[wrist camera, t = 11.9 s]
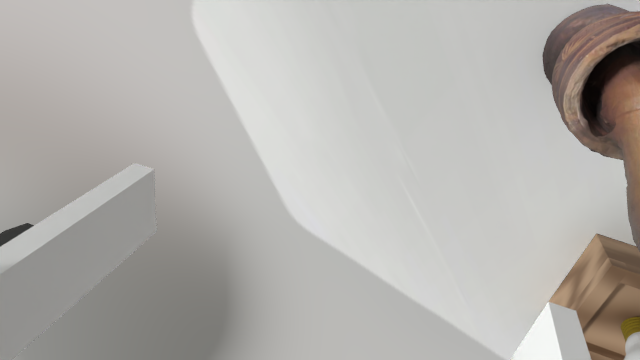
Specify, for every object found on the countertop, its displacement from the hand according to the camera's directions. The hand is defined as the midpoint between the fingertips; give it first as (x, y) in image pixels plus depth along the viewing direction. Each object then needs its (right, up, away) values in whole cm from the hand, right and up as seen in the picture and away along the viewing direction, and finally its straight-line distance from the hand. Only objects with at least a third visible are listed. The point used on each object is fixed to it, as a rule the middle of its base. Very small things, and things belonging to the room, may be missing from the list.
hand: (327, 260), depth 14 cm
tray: (+33, -10, +31) cm, 46 cm away
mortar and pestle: (+24, +12, +23) cm, 35 cm away
